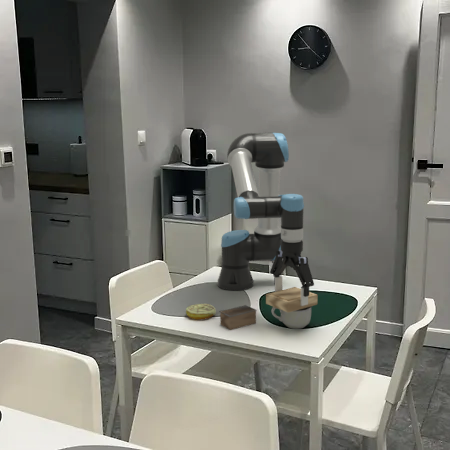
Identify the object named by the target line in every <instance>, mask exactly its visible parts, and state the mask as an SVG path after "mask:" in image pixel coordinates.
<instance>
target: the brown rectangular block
mask: <svg viewBox="0 0 450 450" xmlns="http://www.w3.org/2000/svg"><path fill="white" fill-rule="evenodd" d="M257 310H258V309H256V308H254V307H252V306H249V305H247V304H244V305H241V306H235V307H232V308H228V309H223V310H219V313H220V315H219V316H220V326H223V327H224V328H226V329H228V330H230V331H231V330H235V329H239V328H243V327H246V326H250V325H254V324H256V323H257V317H256V316H257Z"/></svg>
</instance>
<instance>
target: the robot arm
mask: <svg viewBox="0 0 450 450" xmlns="http://www.w3.org/2000/svg"><path fill="white" fill-rule="evenodd" d="M226 156H227V162H228V165H229V166H230V167H231V171H232V175H233V181H234V185H235V190H236V195H237V197H235V198H234V199H233V214H234V217H235V218H236V219H237V220H238V219H244V220H248V219H249V220H250V219H251V220H252V219H253V220H254V219H257V226H255V227H254V228H253V231H254V232H253V233H250V232H249V230H247V229H238V230H237V229H235V230H230V231H227V232H225V233H224V234H222V236H221V244H220V247H221V269H220V272H219V276H218V279H217V287H218V288H220V289H223V290H225V291H243V290H244V291H245V290H248V289H251V288H253V286H254V279H253V276H252V273H251V270H250V262H267V261H269V262H271V261H273V263H272V265H271V269H270V271H269V272H270V274H271V275H273V277H274V281H273V282H274V283H273V284H274V292H276V291H280V290H283V273H284V271H285V270H286V268H287V267H289V268H291V269H293V270H294V271H295V273H296V275H297V277H298V280H299V281H300V284H301V287H300V289H301V306H304V305H308V296H309V292H310V287H313V286H315V282H314V279H313V276H312V273H311V269H310V265H309V259H308V257H307V256H305V257H303V256H302V253H303V250H304V241H303V240H304V208H305V203H304V196H303V195H302V194H297V193H285V194H280V184H281V182H280V181H281V171H282V170H283V168H284V167H285V163H287V162H289V156H290V154H289V145H288V141H287V137H286V136H285V134H283V133H281V132H258V133H257V132H254V133H252V132H249V133H248V132H247V133H243V134H241V135H239V136H237V137H236V138H235V139H234V140H233V141H232V142H231V144H230V145H229V147H228V149H227V153H226ZM252 163H255V164H254V165H255V168H256V169H257V170H258V186H257V183H256V179H255V174H254V171H253V166H252ZM279 218H280V224H281V225H280V226H279Z"/></svg>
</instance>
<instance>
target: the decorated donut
mask: <svg viewBox="0 0 450 450" xmlns="http://www.w3.org/2000/svg"><path fill="white" fill-rule="evenodd" d="M216 311H217V310H216V308H215V307H214V306H213V305H211V304H210V303H209V304H208V303H195V304H191V305H188V306H187V308H186V309H185V314H186V315H187V317H188V318H189V319H191V320H195V321H201V320H202V321H203V320H204V321H205V320H208V319H210V318H212V317H213V316H215V315H216Z"/></svg>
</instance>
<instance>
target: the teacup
mask: <svg viewBox="0 0 450 450" xmlns="http://www.w3.org/2000/svg"><path fill="white" fill-rule="evenodd" d="M312 308H313V306H310V307H307V308H303V309H299V310H296V311H292V312H289V313H288V312H285V311H283V310H280V309H278V308H275V307H273V306H272V307H271V311H270V312H271V315H272V316H273V317H275V319H277V320H279V321H280V322H282V323H283V324H284V325H285V326H286V327H287V328H290V329H293V330H296V329H297V330H300V329H303V328H305V327H307V326H308V325H309V324H310V322H311V317H312ZM276 309H277V310H279V313H280V316H279V315H277V313H275V310H276Z"/></svg>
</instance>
